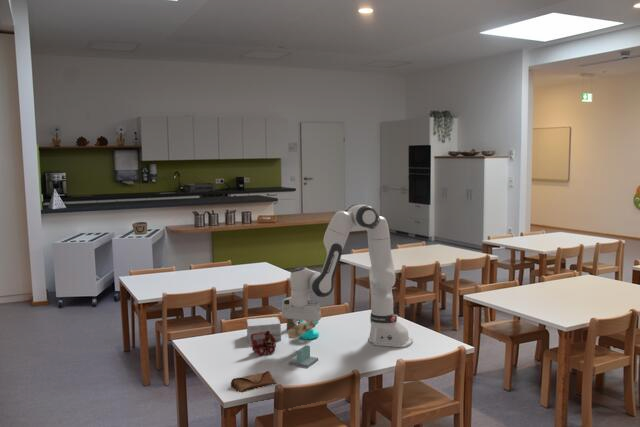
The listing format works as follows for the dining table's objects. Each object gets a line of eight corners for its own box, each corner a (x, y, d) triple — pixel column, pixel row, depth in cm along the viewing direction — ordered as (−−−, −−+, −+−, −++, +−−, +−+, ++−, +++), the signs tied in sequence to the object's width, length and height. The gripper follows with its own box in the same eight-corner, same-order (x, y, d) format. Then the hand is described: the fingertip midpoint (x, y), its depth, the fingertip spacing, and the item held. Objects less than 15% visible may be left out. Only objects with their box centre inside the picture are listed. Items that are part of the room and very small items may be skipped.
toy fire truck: (278, 352, 279) (278, 331, 278) (254, 357, 273) (254, 335, 272) (272, 348, 285) (272, 327, 284) (249, 352, 279) (248, 332, 278)
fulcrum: (318, 360, 267) (318, 346, 266) (308, 367, 258) (307, 353, 257) (299, 357, 271) (299, 343, 271) (288, 364, 263) (288, 350, 262)
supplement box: (278, 333, 309) (278, 316, 308) (281, 341, 297) (280, 323, 296) (246, 335, 306) (246, 318, 305) (248, 343, 293) (247, 325, 293)
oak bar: (309, 326, 290) (308, 318, 289) (315, 326, 288) (314, 318, 288) (288, 338, 272) (288, 329, 272) (295, 339, 271) (294, 330, 270)
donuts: (321, 316, 303) (314, 321, 294) (321, 335, 304) (314, 340, 295) (304, 315, 307) (296, 320, 298) (304, 333, 308) (296, 338, 299)
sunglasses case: (238, 393, 231) (235, 376, 234) (233, 396, 237) (229, 380, 239) (278, 383, 241) (274, 367, 243) (272, 386, 246) (268, 371, 249)
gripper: (322, 300, 277) (324, 328, 278) (285, 297, 286) (287, 324, 287) (316, 303, 271) (318, 332, 273) (279, 300, 280) (281, 328, 282)
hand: (302, 328), depth 280 cm, fingers closed on oak bar, 4 cm apart
